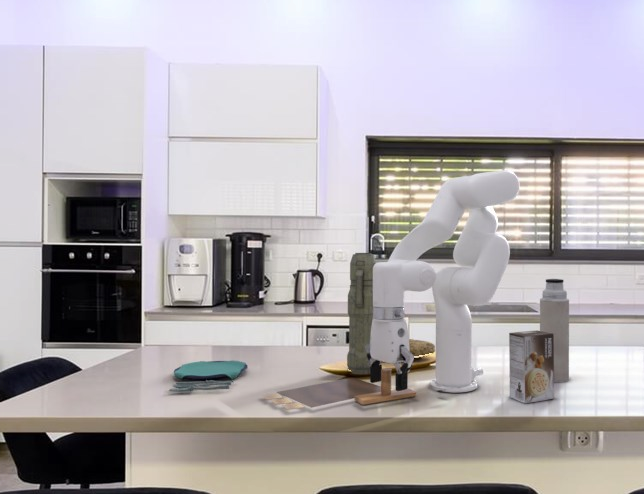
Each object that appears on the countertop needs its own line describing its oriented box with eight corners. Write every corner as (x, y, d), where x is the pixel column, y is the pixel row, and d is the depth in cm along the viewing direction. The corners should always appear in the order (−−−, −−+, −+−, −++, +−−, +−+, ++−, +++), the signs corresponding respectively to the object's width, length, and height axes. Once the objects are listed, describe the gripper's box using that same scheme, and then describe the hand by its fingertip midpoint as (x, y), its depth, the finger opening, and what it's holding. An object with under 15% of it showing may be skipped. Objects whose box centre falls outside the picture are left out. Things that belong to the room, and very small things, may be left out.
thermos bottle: (545, 373, 162) (545, 277, 162) (572, 377, 157) (572, 278, 157) (535, 379, 155) (535, 279, 155) (563, 383, 151) (564, 280, 151)
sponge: (371, 367, 175) (433, 355, 172) (367, 342, 176) (428, 330, 174) (380, 365, 187) (437, 355, 185) (376, 342, 189) (433, 331, 187)
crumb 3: (298, 406, 128) (298, 402, 128) (304, 411, 125) (304, 406, 125) (281, 409, 126) (281, 404, 126) (286, 414, 123) (286, 409, 123)
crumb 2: (287, 402, 132) (287, 397, 132) (292, 406, 129) (292, 402, 129) (270, 404, 130) (270, 400, 130) (275, 408, 127) (275, 404, 127)
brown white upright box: (537, 392, 141) (537, 329, 141) (554, 399, 135) (555, 333, 136) (508, 397, 137) (508, 332, 137) (524, 404, 131) (525, 336, 131)
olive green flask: (344, 379, 154) (345, 253, 154) (349, 369, 166) (350, 252, 166) (376, 379, 154) (377, 253, 155) (379, 369, 166) (379, 252, 166)
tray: (352, 380, 153) (352, 377, 153) (391, 393, 140) (391, 389, 140) (276, 395, 137) (276, 391, 137) (311, 411, 125) (311, 407, 125)
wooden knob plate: (354, 405, 130) (354, 371, 130) (407, 396, 137) (407, 364, 137) (362, 410, 126) (362, 374, 126) (416, 400, 134) (416, 367, 134)
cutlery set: (252, 366, 170) (252, 358, 170) (236, 392, 140) (236, 383, 140) (183, 368, 167) (183, 360, 167) (152, 395, 137) (152, 386, 137)
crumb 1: (278, 397, 136) (278, 393, 136) (283, 401, 133) (283, 397, 133) (261, 399, 134) (261, 395, 134) (266, 403, 131) (266, 399, 131)
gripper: (424, 316, 128) (424, 390, 128) (379, 309, 141) (378, 376, 141) (399, 319, 123) (399, 396, 123) (354, 311, 136) (354, 381, 136)
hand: (388, 385), depth 132 cm, fingers open, 9 cm apart
